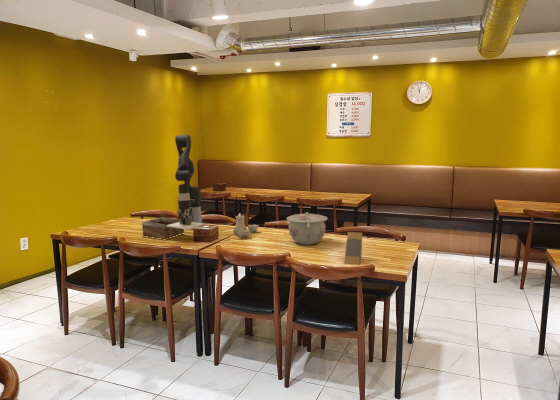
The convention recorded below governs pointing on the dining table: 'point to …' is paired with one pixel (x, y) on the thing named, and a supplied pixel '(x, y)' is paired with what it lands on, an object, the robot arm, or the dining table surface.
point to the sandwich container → (353, 248)
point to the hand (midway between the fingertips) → (185, 223)
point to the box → (161, 228)
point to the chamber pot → (307, 228)
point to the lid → (187, 224)
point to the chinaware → (243, 227)
